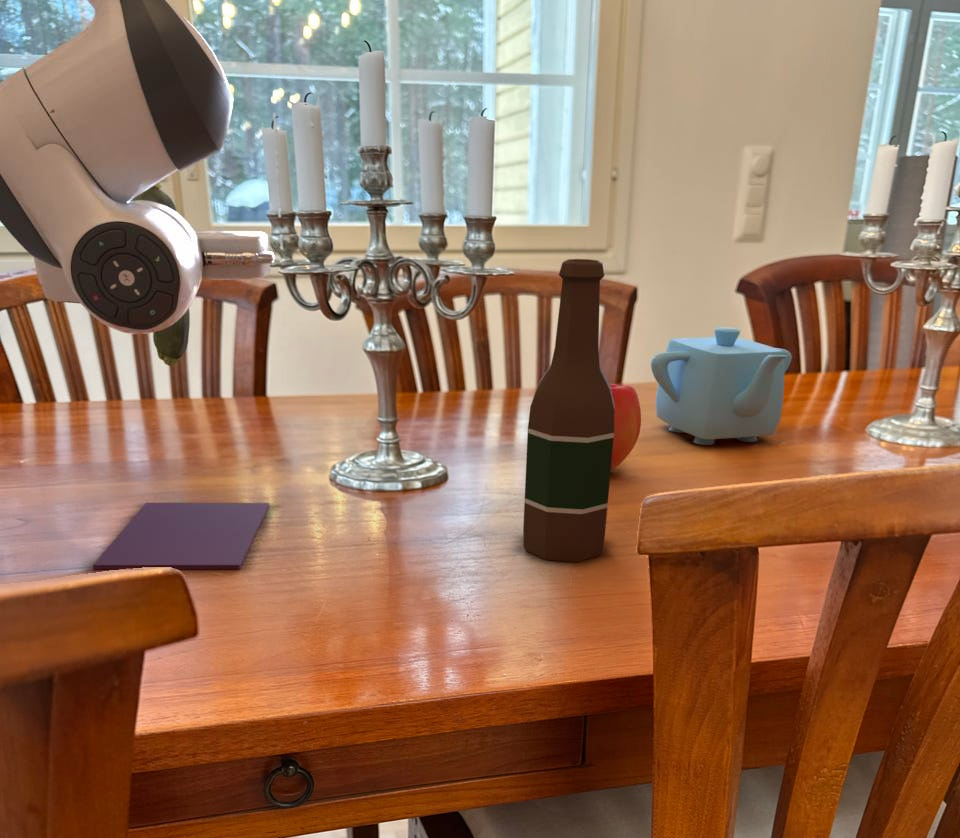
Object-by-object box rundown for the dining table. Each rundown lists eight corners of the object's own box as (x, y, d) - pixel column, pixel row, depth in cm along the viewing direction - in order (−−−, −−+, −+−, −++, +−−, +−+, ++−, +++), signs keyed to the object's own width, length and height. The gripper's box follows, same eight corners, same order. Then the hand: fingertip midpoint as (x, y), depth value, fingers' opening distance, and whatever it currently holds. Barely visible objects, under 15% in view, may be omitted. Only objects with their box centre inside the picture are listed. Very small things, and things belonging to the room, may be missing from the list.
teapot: (628, 437, 116) (639, 328, 110) (675, 413, 129) (688, 315, 122) (767, 461, 108) (787, 345, 101) (804, 433, 120) (824, 328, 114)
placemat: (93, 569, 74) (92, 565, 74) (146, 506, 88) (145, 502, 88) (239, 569, 75) (239, 564, 75) (269, 506, 89) (268, 502, 89)
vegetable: (200, 363, 93) (174, 142, 84) (196, 370, 89) (167, 141, 80) (156, 363, 92) (124, 141, 83) (149, 371, 88) (115, 139, 79)
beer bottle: (543, 526, 86) (559, 254, 75) (619, 542, 82) (647, 260, 71) (505, 551, 80) (515, 260, 69) (585, 570, 76) (609, 266, 65)
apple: (653, 471, 103) (663, 383, 98) (602, 488, 97) (610, 395, 92) (587, 454, 109) (594, 369, 104) (536, 469, 103) (540, 380, 98)
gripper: (272, 219, 75) (268, 213, 87) (8, 216, 71) (42, 210, 83) (278, 299, 78) (274, 282, 90) (25, 300, 74) (56, 283, 86)
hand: (161, 248), depth 86 cm, fingers closed on vegetable, 4 cm apart
